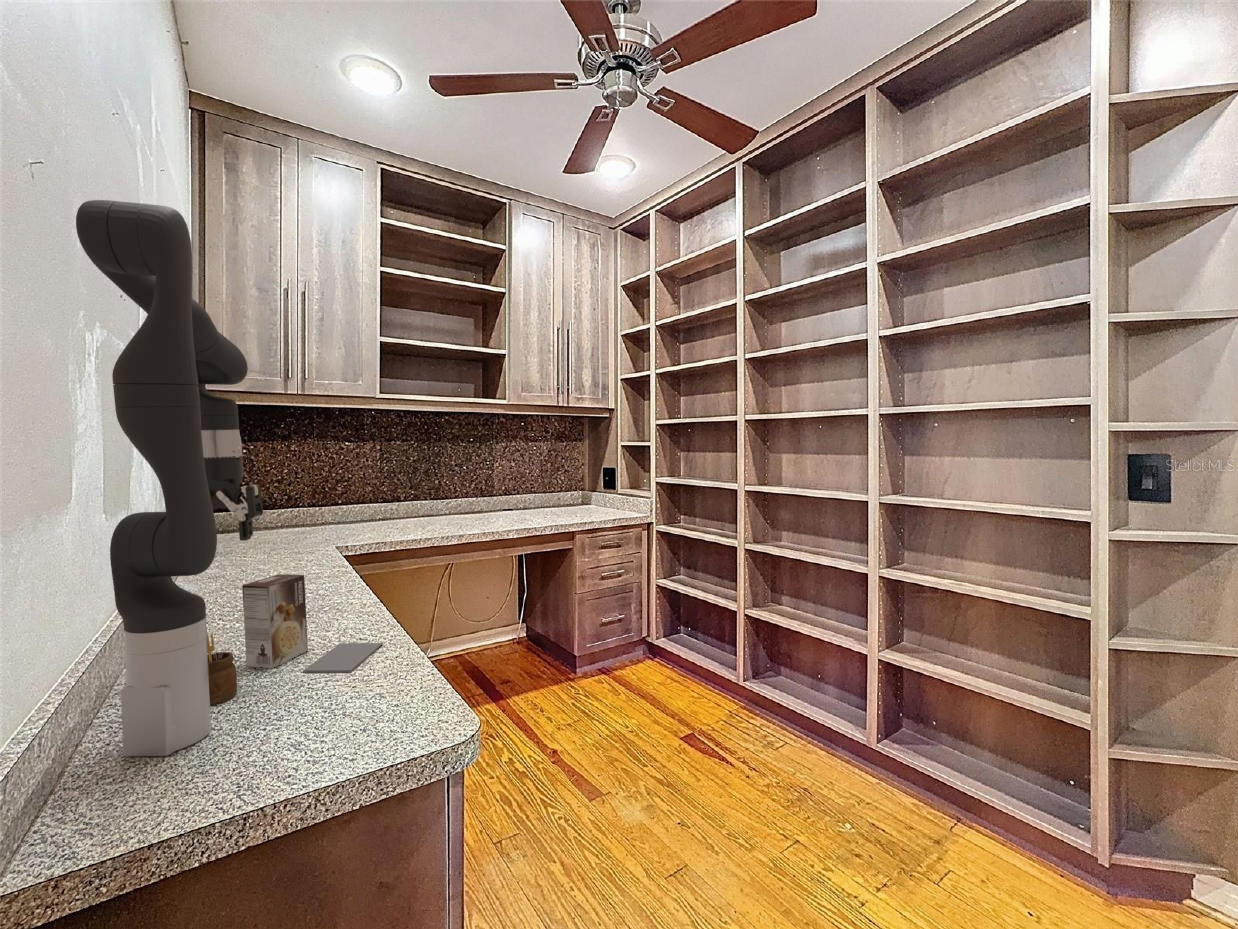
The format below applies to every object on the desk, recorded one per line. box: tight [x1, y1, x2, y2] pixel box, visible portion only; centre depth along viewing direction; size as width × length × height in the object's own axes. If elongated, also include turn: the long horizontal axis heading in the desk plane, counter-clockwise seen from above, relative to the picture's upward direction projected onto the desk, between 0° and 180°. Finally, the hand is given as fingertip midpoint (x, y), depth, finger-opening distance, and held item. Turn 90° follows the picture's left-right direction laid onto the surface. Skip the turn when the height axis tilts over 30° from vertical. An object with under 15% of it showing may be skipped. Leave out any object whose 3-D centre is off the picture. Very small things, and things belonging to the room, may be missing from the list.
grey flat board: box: [302, 642, 384, 674], centre depth 111 cm, size 14×9×1 cm, turn 0°
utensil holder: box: [207, 629, 238, 706], centre depth 94 cm, size 6×6×12 cm
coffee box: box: [241, 573, 309, 669], centre depth 111 cm, size 9×6×16 cm
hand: (223, 539), depth 106 cm, fingers open, 8 cm apart
